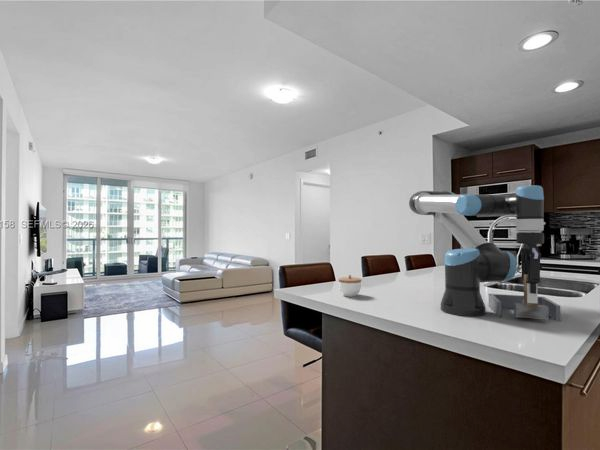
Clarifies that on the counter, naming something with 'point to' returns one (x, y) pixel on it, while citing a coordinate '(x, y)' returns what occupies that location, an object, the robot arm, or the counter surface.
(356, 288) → the lidded jar
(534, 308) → the scraper
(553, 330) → the counter surface
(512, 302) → the box
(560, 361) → the counter surface
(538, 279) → the robot arm
